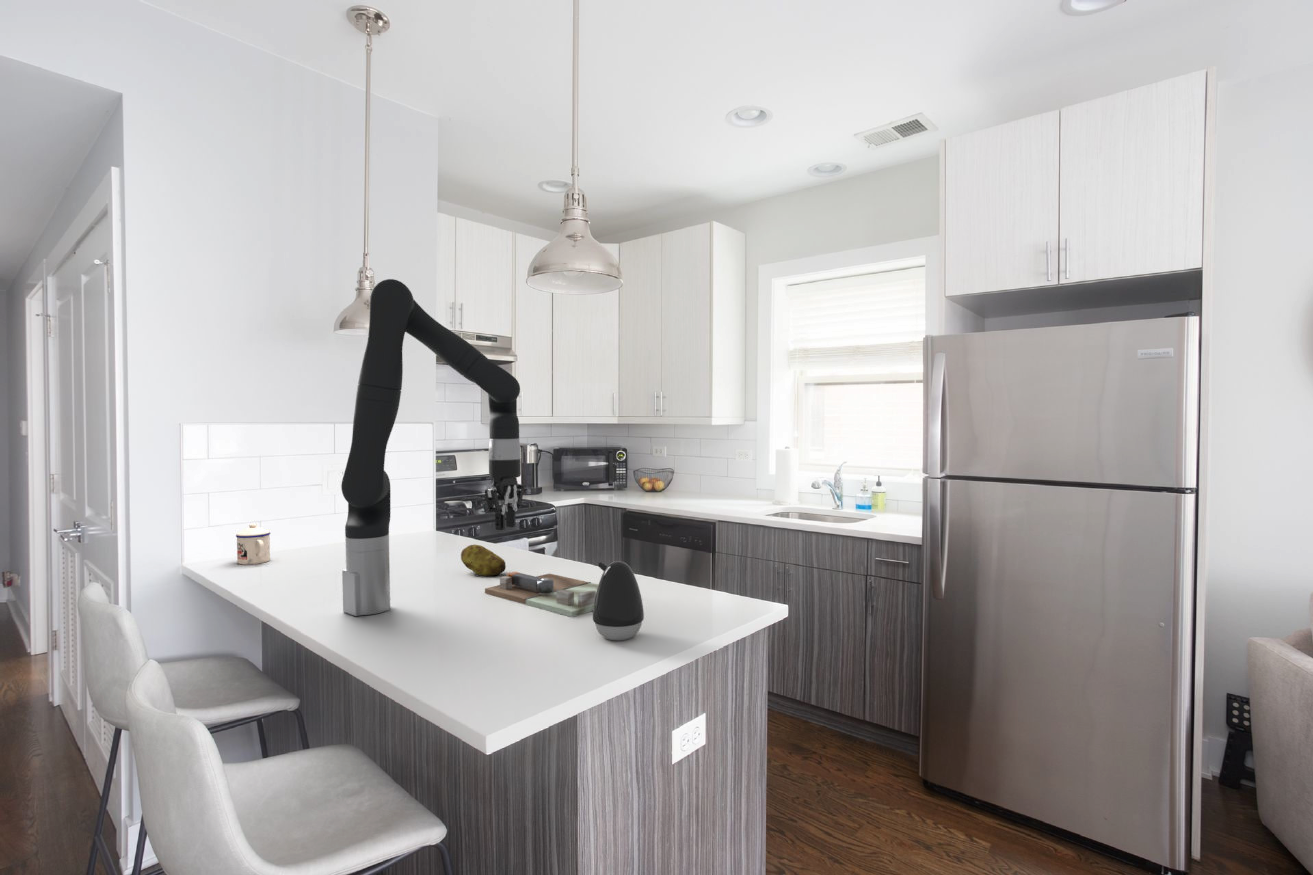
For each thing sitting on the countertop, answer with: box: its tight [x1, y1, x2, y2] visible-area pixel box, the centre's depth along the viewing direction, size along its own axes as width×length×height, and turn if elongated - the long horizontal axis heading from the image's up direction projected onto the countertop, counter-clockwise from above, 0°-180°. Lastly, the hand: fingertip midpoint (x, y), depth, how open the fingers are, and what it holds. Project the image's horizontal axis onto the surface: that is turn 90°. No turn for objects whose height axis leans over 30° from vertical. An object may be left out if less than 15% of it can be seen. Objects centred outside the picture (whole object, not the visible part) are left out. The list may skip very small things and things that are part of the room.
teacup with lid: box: [235, 523, 271, 566], centre depth 210 cm, size 12×9×12 cm
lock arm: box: [506, 571, 554, 593], centre depth 170 cm, size 4×15×3 cm, turn 49°
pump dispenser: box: [592, 560, 645, 642], centre depth 138 cm, size 10×10×15 cm
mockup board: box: [484, 572, 599, 618], centre depth 170 cm, size 21×32×4 cm, turn 49°
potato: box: [460, 544, 507, 577], centre depth 193 cm, size 8×13×8 cm, turn 52°
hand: (505, 528), depth 167 cm, fingers open, 4 cm apart
